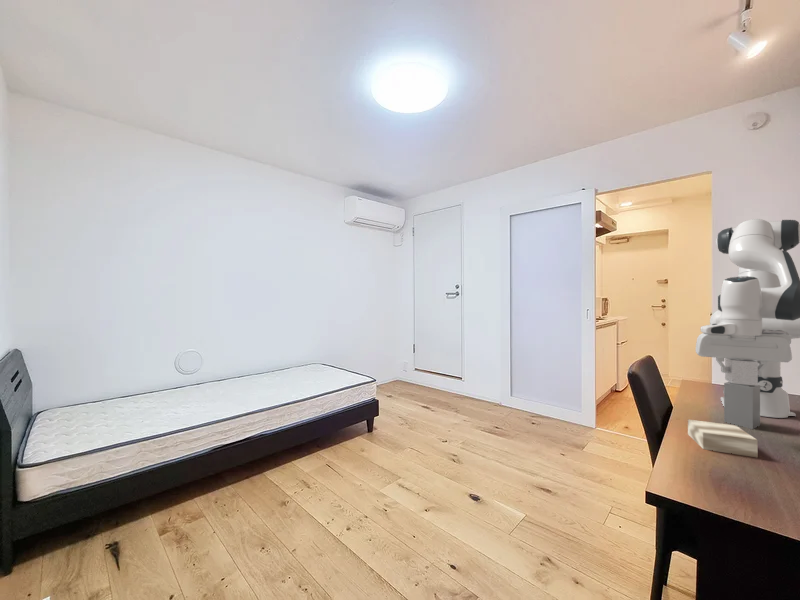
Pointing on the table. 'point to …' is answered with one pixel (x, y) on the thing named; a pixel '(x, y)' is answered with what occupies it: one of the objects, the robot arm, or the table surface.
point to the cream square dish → (722, 438)
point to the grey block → (742, 371)
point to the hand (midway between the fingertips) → (740, 373)
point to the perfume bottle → (742, 404)
